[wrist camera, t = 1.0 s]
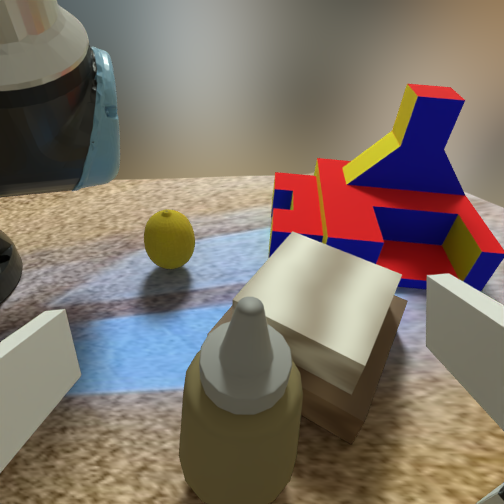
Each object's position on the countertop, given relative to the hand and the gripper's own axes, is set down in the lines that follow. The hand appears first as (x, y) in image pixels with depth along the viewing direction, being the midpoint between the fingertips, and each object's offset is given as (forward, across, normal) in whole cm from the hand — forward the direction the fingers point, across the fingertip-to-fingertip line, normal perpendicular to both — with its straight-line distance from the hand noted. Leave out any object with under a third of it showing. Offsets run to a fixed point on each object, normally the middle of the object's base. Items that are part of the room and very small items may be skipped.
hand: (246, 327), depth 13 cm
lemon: (+29, -10, -5) cm, 31 cm away
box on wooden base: (+21, +4, -12) cm, 24 cm away
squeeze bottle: (+11, -3, -16) cm, 20 cm away
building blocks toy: (+38, +14, -6) cm, 40 cm away
